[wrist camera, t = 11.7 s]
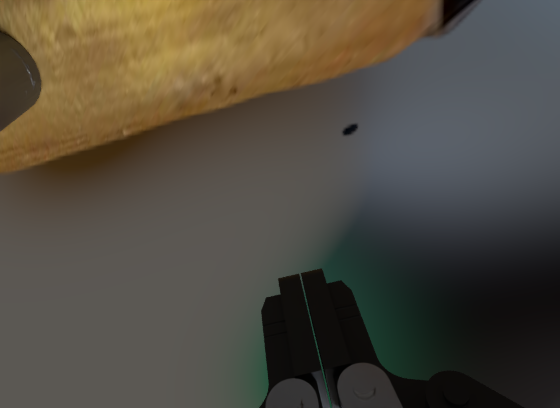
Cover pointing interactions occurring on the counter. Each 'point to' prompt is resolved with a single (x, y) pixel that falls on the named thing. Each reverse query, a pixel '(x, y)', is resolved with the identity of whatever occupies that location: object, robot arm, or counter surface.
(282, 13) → the counter surface
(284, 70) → the counter surface
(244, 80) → the counter surface
